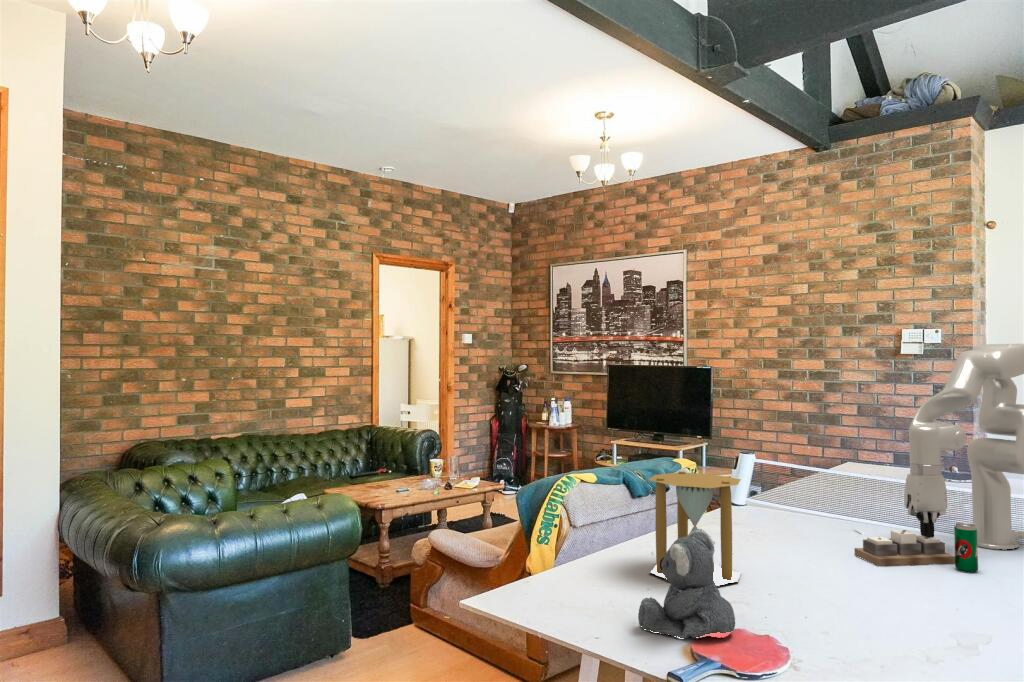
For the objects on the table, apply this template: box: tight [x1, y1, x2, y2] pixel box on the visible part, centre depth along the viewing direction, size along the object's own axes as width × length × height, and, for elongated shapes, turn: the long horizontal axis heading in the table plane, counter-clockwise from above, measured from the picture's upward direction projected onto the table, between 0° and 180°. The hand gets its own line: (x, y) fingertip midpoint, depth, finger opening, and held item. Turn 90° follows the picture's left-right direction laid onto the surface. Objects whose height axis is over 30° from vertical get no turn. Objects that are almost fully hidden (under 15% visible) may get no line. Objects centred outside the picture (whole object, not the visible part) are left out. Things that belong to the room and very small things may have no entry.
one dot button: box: [867, 536, 892, 545], centre depth 192 cm, size 4×4×4 cm
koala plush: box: [637, 528, 736, 639], centre depth 144 cm, size 17×18×20 cm
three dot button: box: [890, 529, 917, 544], centre depth 192 cm, size 4×4×4 cm
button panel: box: [854, 538, 955, 567], centre depth 192 cm, size 22×11×5 cm, turn 96°
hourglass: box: [647, 470, 741, 580], centre depth 180 cm, size 24×22×25 cm
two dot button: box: [916, 534, 941, 543], centre depth 193 cm, size 4×4×4 cm
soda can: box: [953, 522, 979, 574], centre depth 182 cm, size 5×5×12 cm
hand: (927, 536), depth 193 cm, fingers closed
